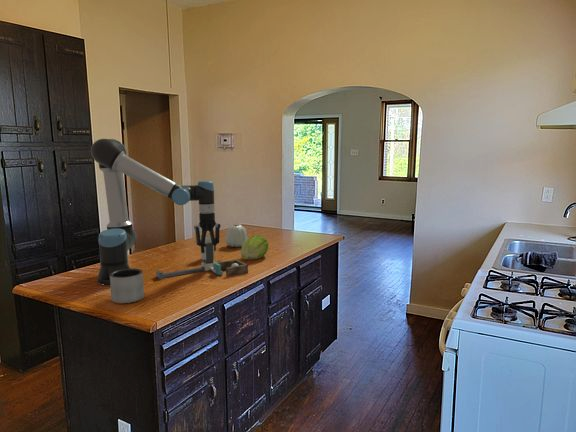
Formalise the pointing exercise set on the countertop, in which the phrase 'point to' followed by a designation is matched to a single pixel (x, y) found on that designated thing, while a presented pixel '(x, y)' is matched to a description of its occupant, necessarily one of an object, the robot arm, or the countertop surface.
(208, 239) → the mug
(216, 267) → the carriage
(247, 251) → the lettuce
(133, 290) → the planter
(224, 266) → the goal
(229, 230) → the vase
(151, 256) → the countertop surface
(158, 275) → the rail
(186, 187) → the robot arm
